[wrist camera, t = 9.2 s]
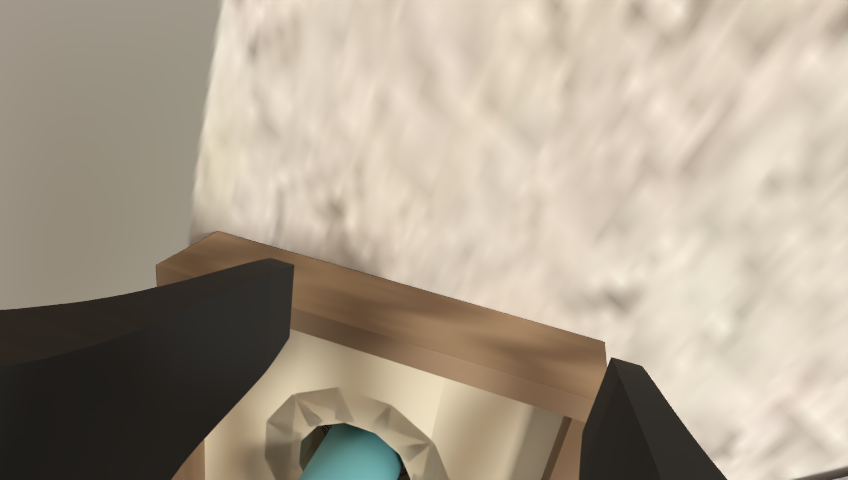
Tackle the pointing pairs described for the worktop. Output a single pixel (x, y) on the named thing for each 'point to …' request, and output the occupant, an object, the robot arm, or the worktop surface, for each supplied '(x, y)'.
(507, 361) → the walnut box
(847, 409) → the worktop surface
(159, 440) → the robot arm
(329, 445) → the peg
